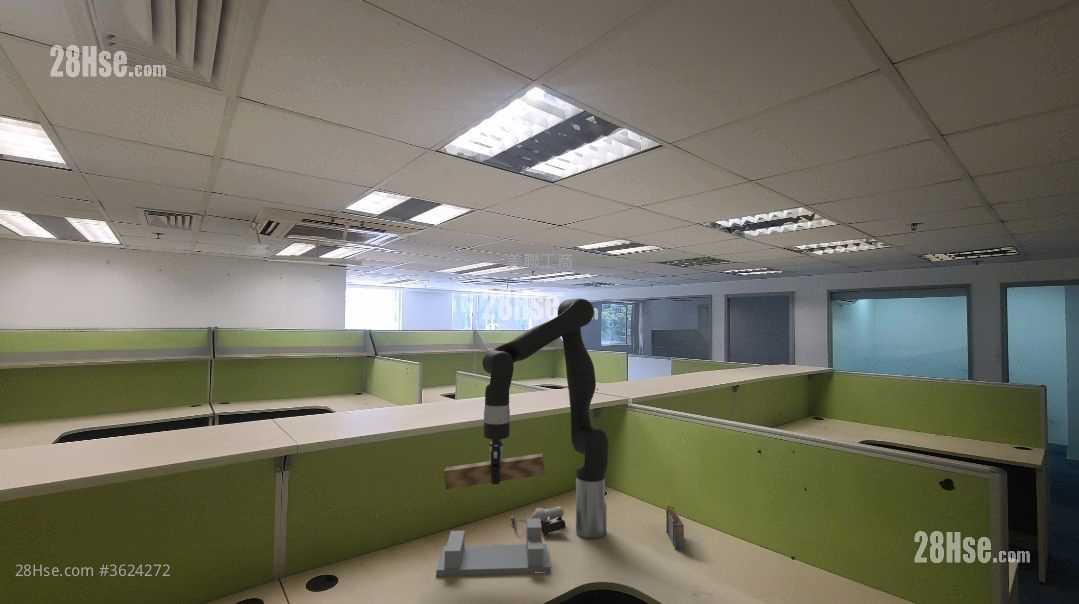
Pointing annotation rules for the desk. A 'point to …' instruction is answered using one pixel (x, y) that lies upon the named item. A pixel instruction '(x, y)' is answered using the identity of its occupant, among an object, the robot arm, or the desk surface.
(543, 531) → the clip-on lamp
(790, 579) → the desk surface
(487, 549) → the notch rack
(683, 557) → the desk surface
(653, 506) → the desk surface
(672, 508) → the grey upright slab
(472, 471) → the wooden plank
